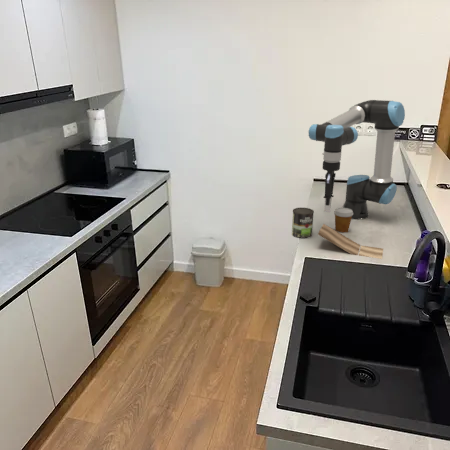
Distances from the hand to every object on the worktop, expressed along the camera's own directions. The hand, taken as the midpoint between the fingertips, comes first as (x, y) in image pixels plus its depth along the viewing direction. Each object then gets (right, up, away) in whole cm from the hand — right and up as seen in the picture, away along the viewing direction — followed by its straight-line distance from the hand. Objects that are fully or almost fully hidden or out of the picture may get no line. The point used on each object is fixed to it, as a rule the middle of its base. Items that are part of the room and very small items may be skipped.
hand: (327, 211), depth 198 cm
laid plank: (+20, -20, -1) cm, 28 cm away
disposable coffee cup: (+13, -10, +25) cm, 30 cm away
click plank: (+6, -14, +3) cm, 15 cm away
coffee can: (-9, -13, +19) cm, 24 cm away
